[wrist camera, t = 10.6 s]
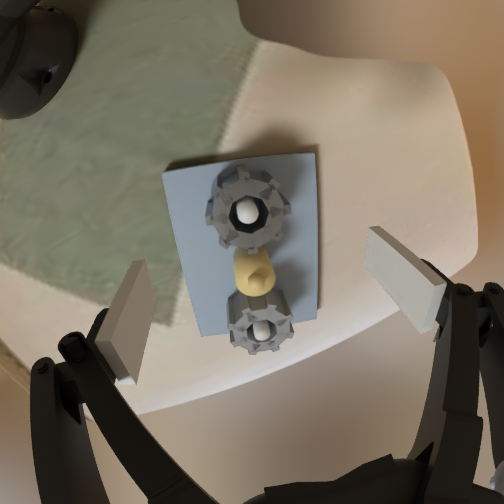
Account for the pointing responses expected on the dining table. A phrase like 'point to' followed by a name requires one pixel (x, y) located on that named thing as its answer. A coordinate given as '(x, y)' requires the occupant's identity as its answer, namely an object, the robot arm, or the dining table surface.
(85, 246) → the dining table surface
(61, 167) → the dining table surface
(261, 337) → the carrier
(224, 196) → the gear
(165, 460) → the robot arm
